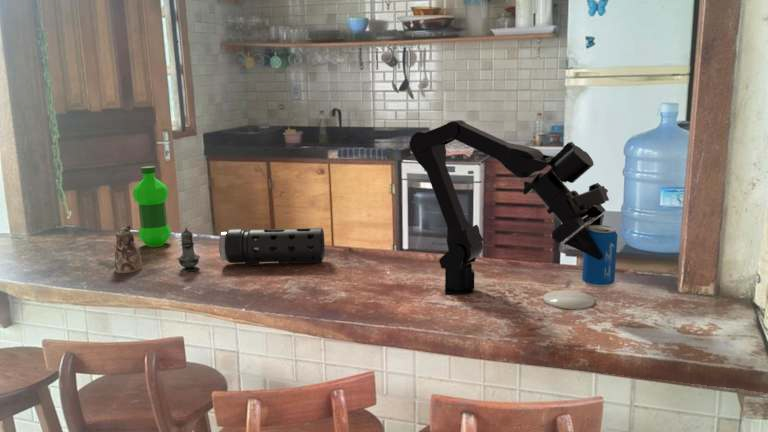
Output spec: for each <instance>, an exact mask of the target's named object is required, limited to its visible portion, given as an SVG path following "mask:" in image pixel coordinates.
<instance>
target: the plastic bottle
mask: <svg viewBox="0 0 768 432" xmlns="http://www.w3.org/2000/svg"><path fill="white" fill-rule="evenodd" d="M156 169H157V168H156V166H155V165H152V166H151V165H149V166H148V165H147V166H142V167H140V172H141V174H143V175H142V177H143V179H141V181H140V182H138V183H137V184H136V185H135V186H134V188H133V190H132V198H133V200H134V202H135V203H136V204H137V205H138V212H139V213H138V215H139V221H140V227H139V229H138V239H139V240H140V242H142V243H143V244H145V245H146V246H147V247H149V248H156V247H162V246H164V245H165V244H166V243H167V242H168V240H170V237H171V235H172V229H171V227H170V226H169V224H168V220H167V219H168V218H167V209H166V201H167V199H168V198H169V189H168V186H167V185H165V184H164V183H163V182H162V181H161V180H159V179H158V178H156V177H155V174H156V173H157V170H156Z"/></svg>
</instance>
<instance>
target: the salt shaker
mask: <svg viewBox="0 0 768 432" xmlns="http://www.w3.org/2000/svg"><path fill="white" fill-rule="evenodd" d="M180 237H181V243H180V246H181V249H182V252H181V256H179V257H178V258H177V261H178V263H179V265H180V266H181V267H182V268H181V269H179V272H180V273H181V274H191V273H192V274H193V273H197V272H199V271H200V270H201V269H200V267H199V266H197V265H198V264H199V261H200V255H198V254H196V253H195V250H194V245H195V243H194V242H193V233H192V232H191V231H190V230H188V228H187V227H185V229H184V231H182V232H181V235H180Z"/></svg>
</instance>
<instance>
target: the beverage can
mask: <svg viewBox="0 0 768 432" xmlns="http://www.w3.org/2000/svg"><path fill="white" fill-rule="evenodd" d="M616 230H617V229H616V227H612V226H608V225H603V224H602V225H593V226H589V234H590V236H591V237H592V239H593V241H594V242H595V244H596V245H597V247H598V248H599V250H600V251H601V253H602V254H603V258H602V259H600V260H598V259H596V258H594V257H592V256H590V255H588V254H586V253H584V252H583V256H582V258H583V259H582V272H581V273H582V275H581V280H582V281H583V282H584V283H585V285H587V286H589V287H594V288H599V289H600V288H602V289H603V288H608V287H610V286H611V285H613V284H615V280H616V279H615V276H616V266H617V265H616V263H617V247H618V233H617V232H616Z"/></svg>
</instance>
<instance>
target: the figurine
mask: <svg viewBox="0 0 768 432" xmlns="http://www.w3.org/2000/svg"><path fill="white" fill-rule="evenodd" d="M131 228H132V227H131V225H127V226H126V227H120V228H119V229H118V230H117V232H115V234H114V235H115V238H116V241H115V242H116V243H115V244H114V249H115V250H114V267H115V272H116V273H118V274H125V273H128V274H129V273H134V272H137V271H140V270H141V269H142V267H143V261H142V256H141V253H140V251H139V247H138V245H137V244H136V243H135V238H134V235H133V233H132V232H131Z"/></svg>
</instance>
